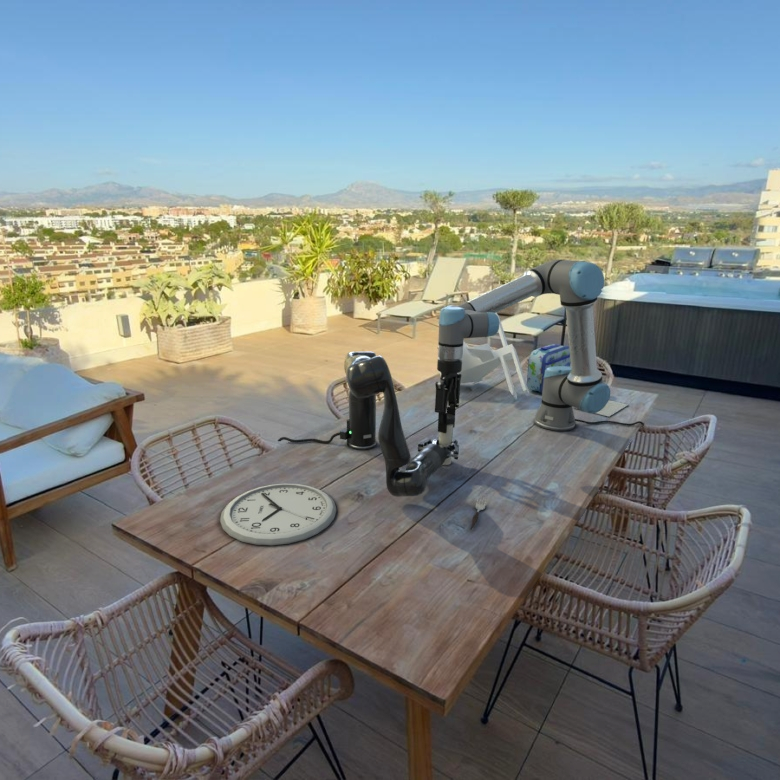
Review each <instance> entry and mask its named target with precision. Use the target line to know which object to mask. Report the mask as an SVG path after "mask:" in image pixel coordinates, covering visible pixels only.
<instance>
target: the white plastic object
mask: <svg viewBox="0 0 780 780" xmlns="http://www.w3.org/2000/svg"><path fill="white" fill-rule="evenodd" d="M495 314H496V315H497V316H498V319H499V330H498V335H499V338H500V342H501V345H502V347H500V348H498V349H496V350H495V349H493V348H492V347H491V346H490V344H489V343H488V342H487V343H483V344H479V345H473V346H469V345H468V343H466V342H465V339H464V340H463V357H462V358H461V360H462V370H461V372H459V373H457V374H461V381H460V384H467V383H468V384H469V383H473V384H477V383H480V382H482V381H484V378H485V377H486V376H487V375H489V374H490V373H492V372H494V371H495V370H496V369H497V368H499V367H500V366H502V370H503V373H504V376H505V380H506V383H507V386H508V390H509V393H510V394H511V395H512V397H513V398H514V399H515V400H517V392H516V391H517V390H516V388H515V385H514V381H513V378H512V375H511V371H510V369H509V365H508V361H510V360H513V363H514V366H515V369H516V372H517V376H518V380H519V382H520V385H521V389H522V391H523V393H524V395H525V396H526V397H528V396H531V395H530V390H529V389H528V387H527V380H526V378H525V375H524V371H523V369H522V368H523V367H522V366H521V362H520V359H519V355H518V352H517V349H516V347H515V346H514V345H513V343H511V344H508V341H507V337H506V334H505V331H504V328H503V325H502V321H501V318H500V315H499V314H498V312H497V313H495ZM438 372H439V376H440V377H441V372H440V371H438Z"/></svg>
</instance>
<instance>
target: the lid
mask: <svg viewBox="0 0 780 780" xmlns="http://www.w3.org/2000/svg"><path fill="white" fill-rule="evenodd" d="M446 413H447V412H446ZM454 423H455V424H456V415H455V416H454V415H453V414H448V413H447V425H451V424H454Z"/></svg>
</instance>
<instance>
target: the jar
mask: <svg viewBox="0 0 780 780" xmlns="http://www.w3.org/2000/svg"><path fill="white" fill-rule="evenodd" d="M453 435H454V428H453V424H451V425H447V432H446V433H442V432H438V437H439V445H440V446H441V445H442V446H443V445H445V444H450V443H451V442H452V441H453ZM451 453H452V452H451ZM451 464H452V457H449V458H447V459H446V460H445V462H444V463H443V464H442V465H441V466H448V465H451Z"/></svg>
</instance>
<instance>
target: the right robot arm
mask: <svg viewBox="0 0 780 780" xmlns="http://www.w3.org/2000/svg"><path fill="white" fill-rule="evenodd" d="M604 287H605V276H604V273H603V271H602V269H601V267H600V266H598V265H597V264H596V263H594V262H589V261H586V260H572V259H553V260H550V261H548V262H544V263H542V264H539V265H537V266H535V267H533V268H530V269H528V270H526V271H525V272H524V273H523V275H522V276H520V277H518V278H516V279H514V280H512V281H509V282H507V283H505V284H502V285H501V286H498V287H496V288H494V289H491V290H489V291H488V292H484V293H483V294H481V295H479V296H476V297H475V298H473V299H470V300H468V301H465V302H463V303H460V304H458V305H456V304H455V305H454V304H452V305H447V306H444V307H442V308H441V309H440V311H439V316H438V317H439V319H438V345H437V357H438V359H437V361H436V362H437V363H436V369H437V371H438V372H439V371H440V372H441V376H440V377H439V381H435V383H434V384H435V399H434V401H435V402H434V412H435V413H437V414H438V416H437V417H438V418H437V421H438V422H437V433H439V432H442V433H446V432H447V413H448V414H453V415H454V416H455V417H456V408H457V409H458V408H459V407H460V405H459V404H460V398H461V397H460V394H461V383H460V381H461V374H457V373H459V372H461V370H462V360H461V358H462V357H463V340H464V341H465V339H477V338H487V337H494V336H495V335H497V333H499V331H498V330H499V319H498V316H499V315H498V316H497V315H496V314H495V313H497V314H498V313H499V312H501V311H503V310H505V309H507V308H510V307H512V306H513V305H515V304H518V303H520V302H522V301H525V300H527V299H528V298H531V297H533V298H538V297H540V296H543V295H547V294H548V295H549V294H550V295H551V294H552V295H553V294H554V295H559V299H560V300H559V301H560V306H561V307H563V308H565V314H566V326H567V338H568V346H569V351H570V362H571V363H570V367H567V366H556V367H549V368H547V369H546V370H545V375H544V380H543V390H542V393H541V402H540V405H539V407H538V410H537V411H536V413H535V417H534V424H535V425H536V426H537V427H539V428H542V429H544V430H549V431H556V432H567V431H572V430H574V429H575V428H576V422H579V423H583V424H588V425H597V424H605V423H610V424H616V425H621V426H629V427H630V426H631V427H632V426H636V425H638V424H640V425H642V426H645V423H644V422H643V421H640V420H638V421H636V422H633V423H625V422H621V421H615V420H599V421H587V420H584V419H583V420H582V419H577V418H575V417H576V416H575V413H574V409H576V408H577V409H576V410H580V411H581V412H583V413H588V414H596V412H599V411H600V410H602V409H603V408H604V407H605V405H606V404H607V403H608V401H609V400H610V399H611V388H610V386H609V385H608V383H604V382H603V373H602V372H601V371H600V370H599V369H598V363H597V347H596V346H597V345H596V333H595V332H596V331H595V319H594V317H595V316H594V305H595V304H596V302H597V301H598V297H599V296H600V295H601V294H602V292H603V290H602V289H604ZM440 372H439V373H440ZM574 407H575V408H574ZM455 424H456V422H455V423H454V424H453V429H454V428H455V426H456V425H455Z"/></svg>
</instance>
